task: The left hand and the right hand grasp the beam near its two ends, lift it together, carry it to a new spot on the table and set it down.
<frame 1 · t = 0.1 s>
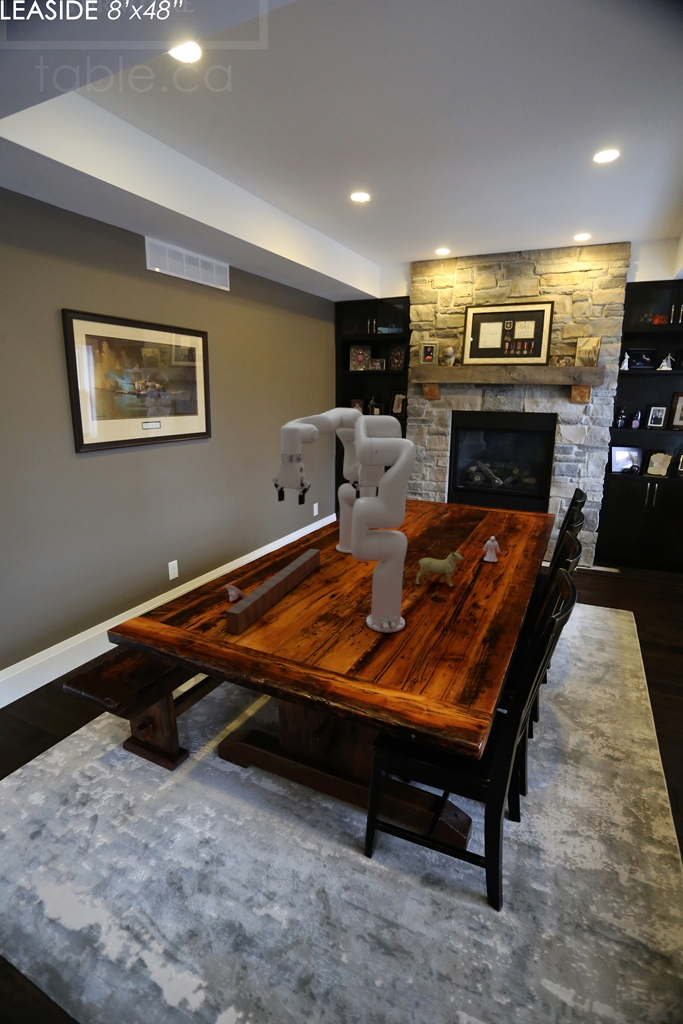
left hand: (291, 502, 192), 31 cm above the table, tool pointing down, fingers open, 9 cm apart
right hand: (370, 500, 199), 31 cm above the table, tool pointing down, fingers open, 9 cm apart
beam: (280, 593, 185), on the table
seashell: (235, 599, 179), on the table
figurine: (490, 560, 225), on the table
toy: (438, 585, 196), on the table
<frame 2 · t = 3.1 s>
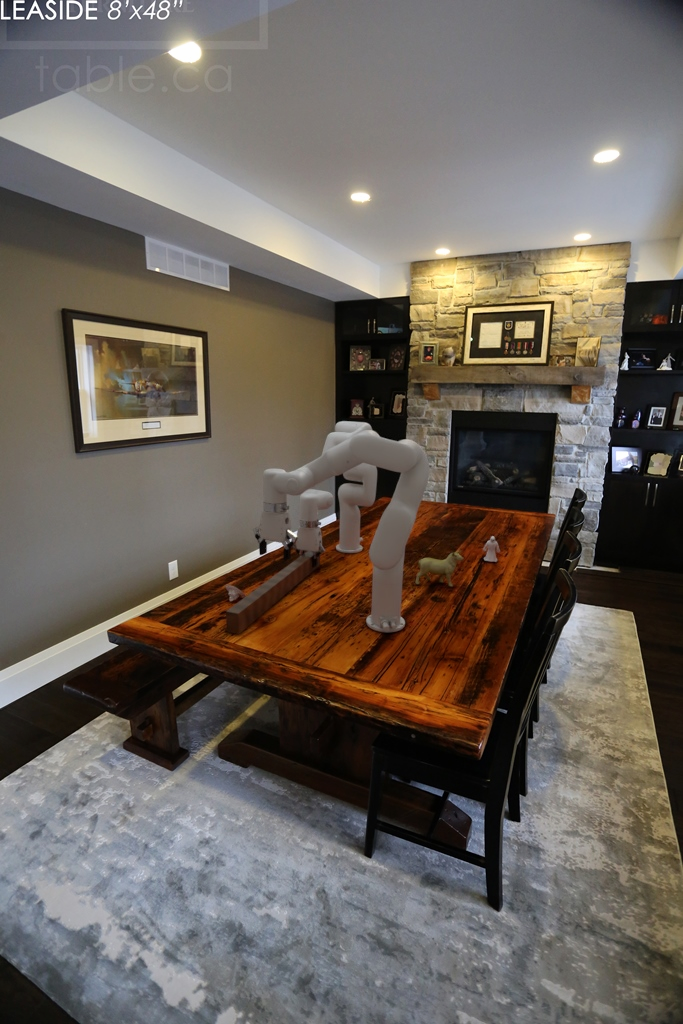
left hand: (308, 565, 209), 2 cm above the table, tool pointing down, fingers closed on beam, 4 cm apart
right hand: (274, 556, 167), 19 cm above the table, tool pointing down, fingers open, 9 cm apart
beam: (280, 593, 185), on the table, touching left hand
everything else where it was.
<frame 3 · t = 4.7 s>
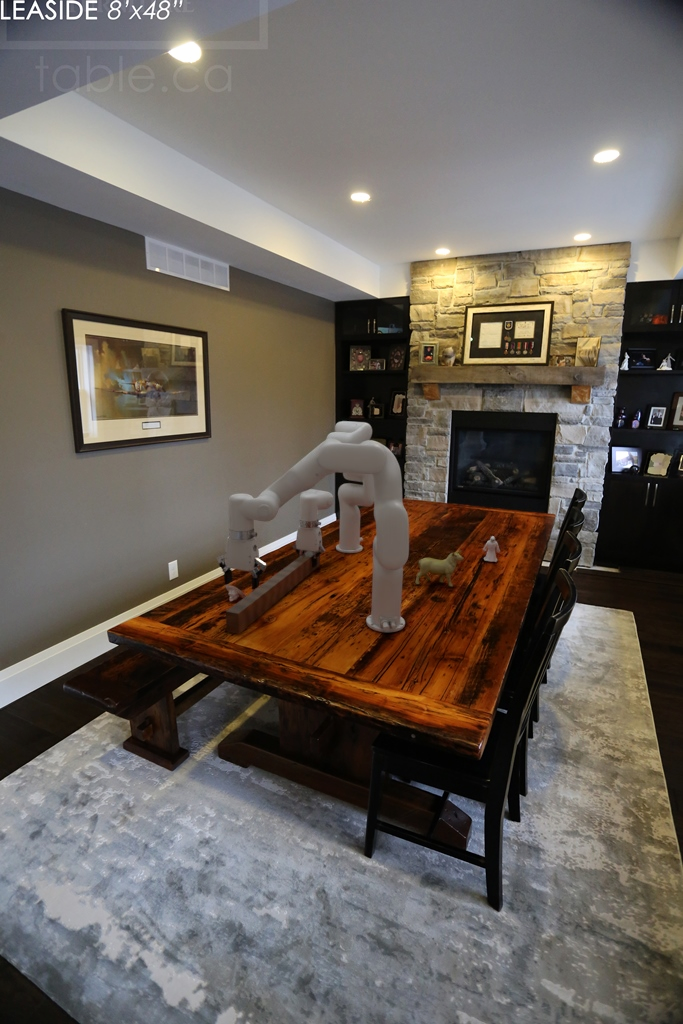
left hand: (308, 565, 209), 2 cm above the table, tool pointing down, fingers closed on beam, 4 cm apart
right hand: (241, 585, 158), 13 cm above the table, tool pointing down, fingers open, 9 cm apart
beam: (280, 593, 185), on the table, touching left hand
everything else where it was.
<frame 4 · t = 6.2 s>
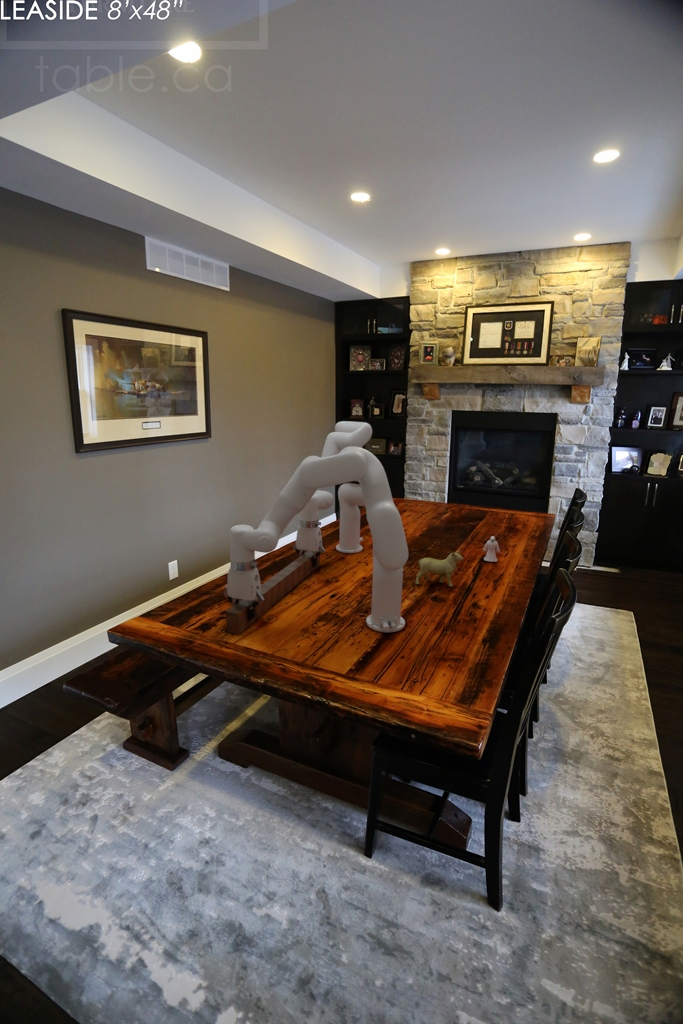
left hand: (308, 565, 209), 2 cm above the table, tool pointing down, fingers closed on beam, 4 cm apart
right hand: (244, 617, 161), 2 cm above the table, tool pointing down, fingers closed on beam, 4 cm apart
beam: (280, 593, 185), on the table, touching right hand, left hand
everything else where it was.
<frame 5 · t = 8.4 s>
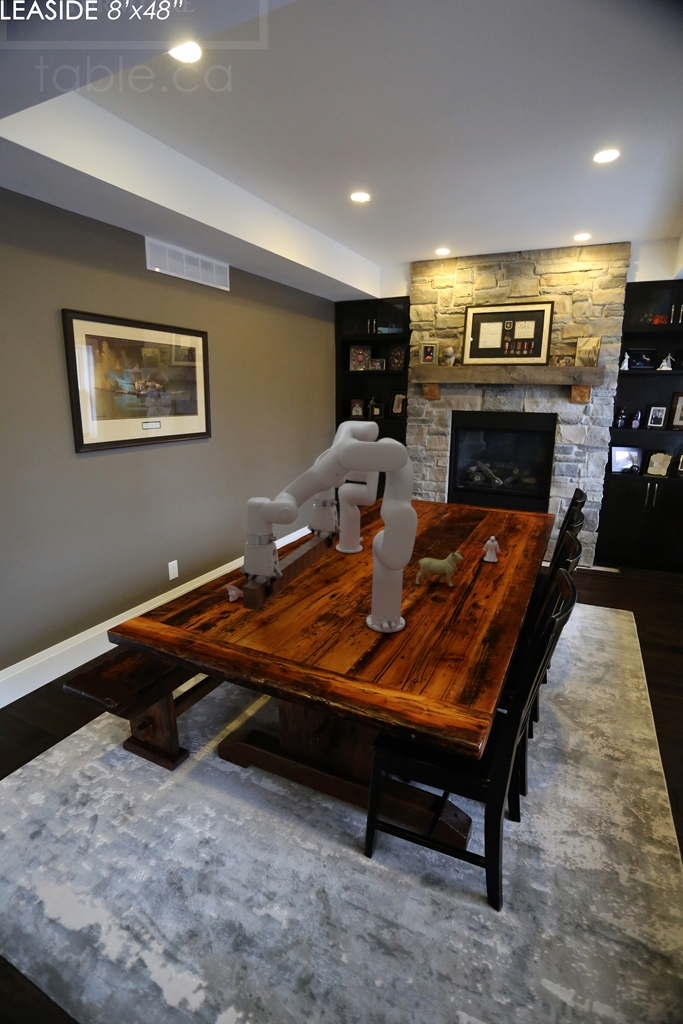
left hand: (324, 545, 203), 12 cm above the table, tool pointing down, fingers closed on beam, 4 cm apart
right hand: (261, 594, 155), 12 cm above the table, tool pointing down, fingers closed on beam, 4 cm apart
beam: (296, 572, 180), point 10 cm above the table, touching right hand, left hand
everything else where it was.
when the left hand's fingers open (3 cm above the table, at t = 11.0 s): beam drops 1 cm, on the table.
when the right hand's fingers open (3 cm above the table, at t = 11.0 s): beam drops 1 cm, on the table.
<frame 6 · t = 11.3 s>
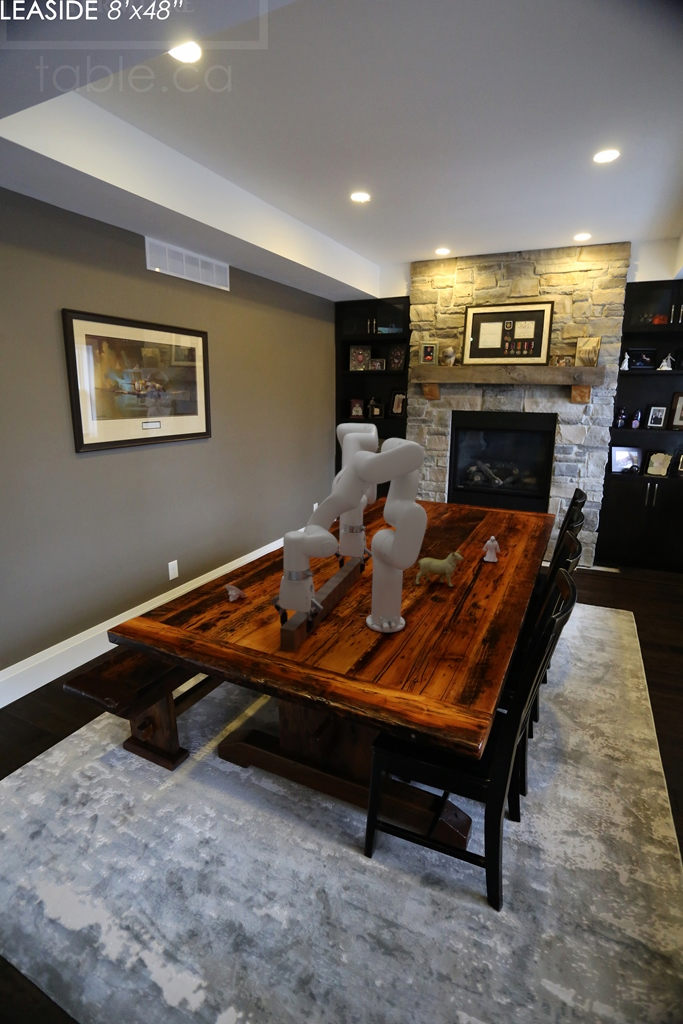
left hand: (351, 570, 198), 4 cm above the table, tool pointing down, fingers open, 7 cm apart
right hand: (296, 628, 151), 4 cm above the table, tool pointing down, fingers open, 7 cm apart
beam: (328, 605, 176), on the table
everything else where it was.
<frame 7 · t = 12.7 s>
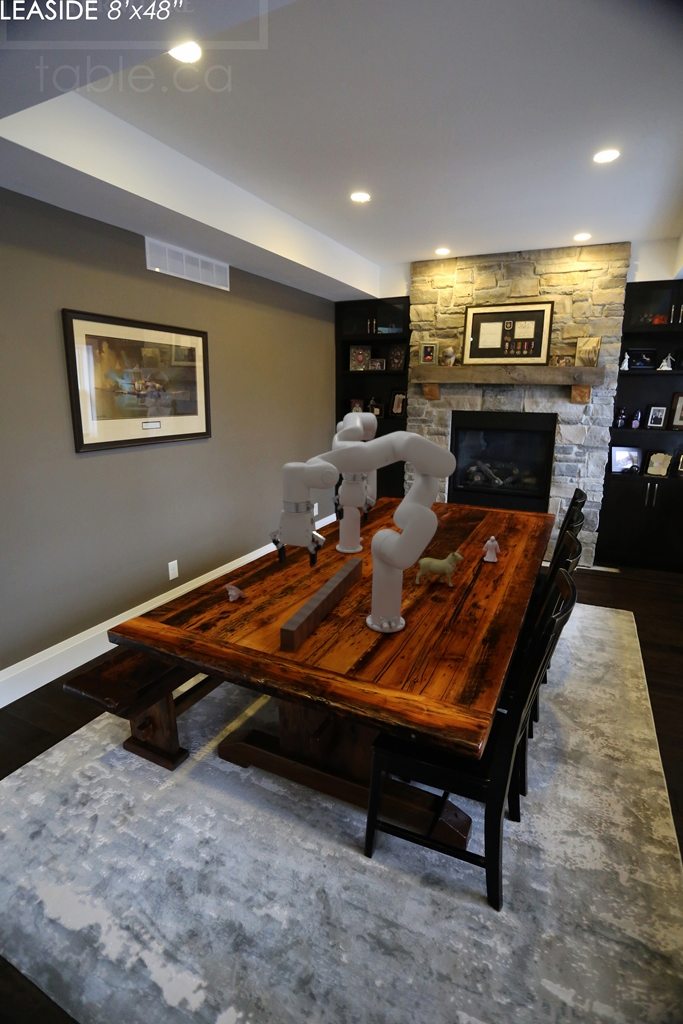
left hand: (353, 520, 194), 24 cm above the table, tool pointing down, fingers open, 9 cm apart
right hand: (297, 563, 146), 24 cm above the table, tool pointing down, fingers open, 9 cm apart
nothing on the table moved.
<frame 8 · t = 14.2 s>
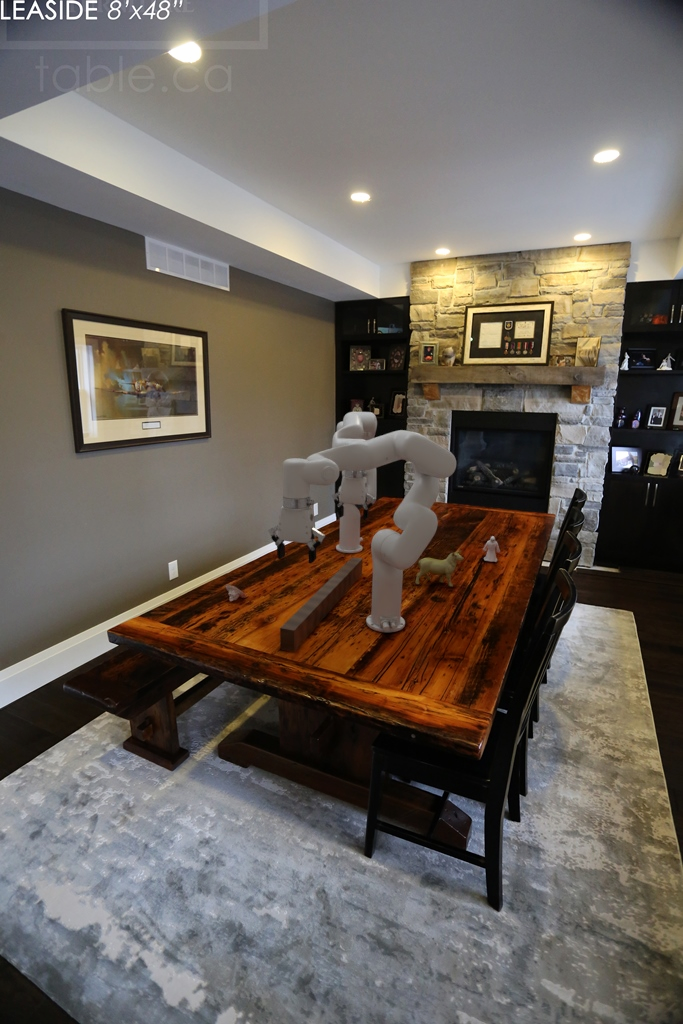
left hand: (353, 517, 193), 26 cm above the table, tool pointing down, fingers open, 9 cm apart
right hand: (296, 559, 145), 26 cm above the table, tool pointing down, fingers open, 9 cm apart
nothing on the table moved.
at the end: beam inside the target area (0.1 cm from its centre), on the table; beam tilted 0°; beam never tilted more than 1° during the clip; both hands held the beam at the same time; the left hand is holding nothing; the right hand is holding nothing; beam at rest at the end (0.0 cm/s) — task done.
